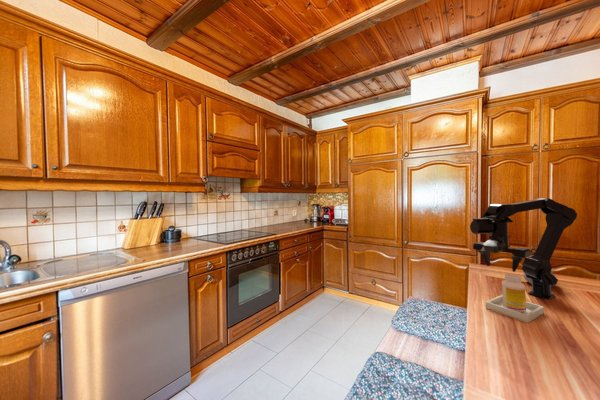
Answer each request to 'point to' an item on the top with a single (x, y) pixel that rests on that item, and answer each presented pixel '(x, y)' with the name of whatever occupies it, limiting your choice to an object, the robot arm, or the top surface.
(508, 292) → the supplement bottle
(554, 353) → the top surface
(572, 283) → the top surface
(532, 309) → the tray
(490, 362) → the top surface
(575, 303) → the top surface
